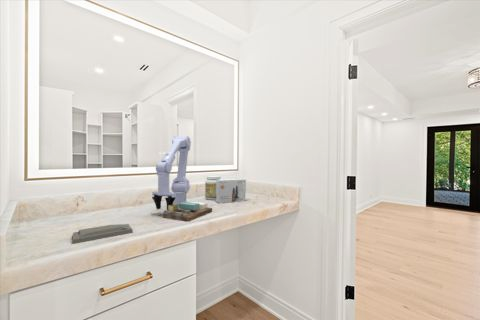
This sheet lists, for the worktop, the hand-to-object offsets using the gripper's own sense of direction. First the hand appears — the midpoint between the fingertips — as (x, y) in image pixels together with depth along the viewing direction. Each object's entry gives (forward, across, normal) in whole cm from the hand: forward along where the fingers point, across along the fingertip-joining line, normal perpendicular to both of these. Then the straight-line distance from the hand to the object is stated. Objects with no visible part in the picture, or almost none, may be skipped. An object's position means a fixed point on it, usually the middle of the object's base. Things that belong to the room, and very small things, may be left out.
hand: (163, 209), depth 118 cm
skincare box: (+3, +16, +49) cm, 51 cm away
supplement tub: (+3, -1, +52) cm, 53 cm away
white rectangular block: (+1, +11, +15) cm, 19 cm away
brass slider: (+1, +7, 0) cm, 7 cm away
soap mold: (+4, -1, -32) cm, 33 cm away
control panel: (+3, +11, +8) cm, 14 cm away
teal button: (-1, +11, +8) cm, 13 cm away
